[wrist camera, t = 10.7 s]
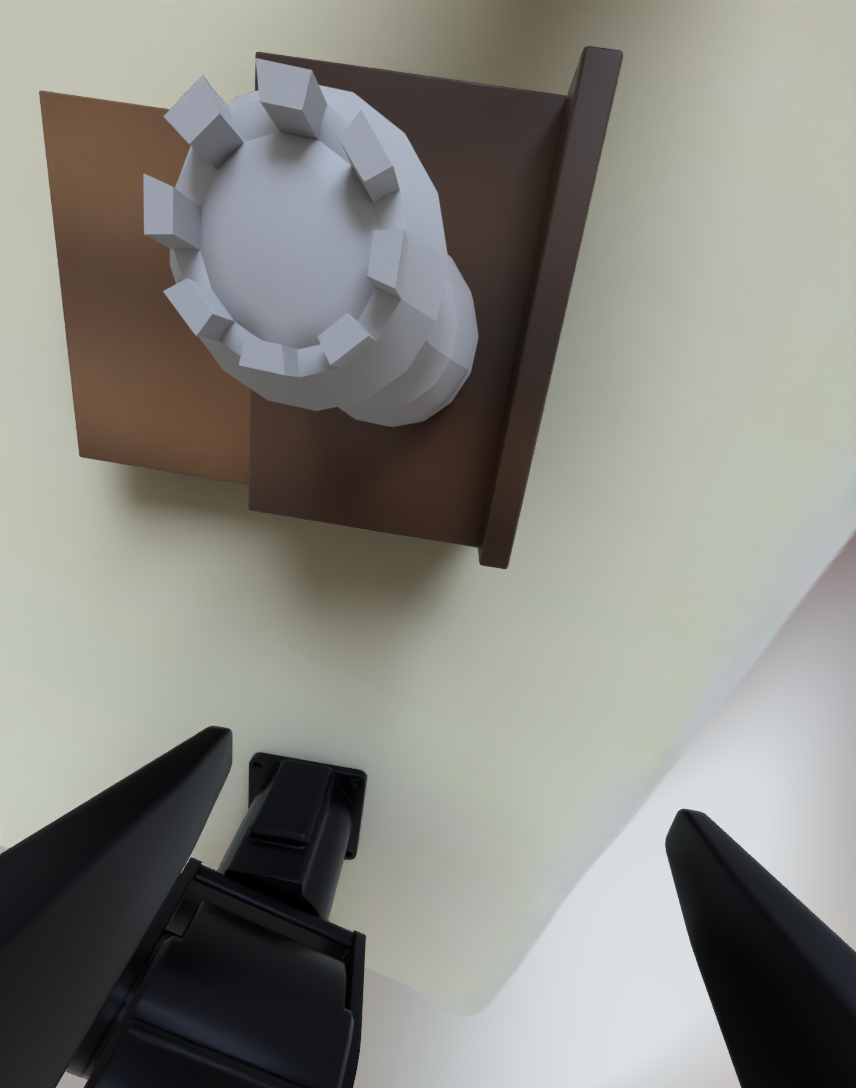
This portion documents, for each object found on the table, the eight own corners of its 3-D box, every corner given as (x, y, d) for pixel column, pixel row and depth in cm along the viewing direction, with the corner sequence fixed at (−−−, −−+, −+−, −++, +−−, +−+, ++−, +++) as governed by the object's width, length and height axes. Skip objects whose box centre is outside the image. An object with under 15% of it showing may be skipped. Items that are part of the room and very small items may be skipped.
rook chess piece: (506, 287, 11) (605, 49, 4) (437, 451, 13) (403, 530, 5) (343, 211, 11) (73, -222, 3) (291, 387, 12) (20, 369, 5)
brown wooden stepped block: (490, 506, 19) (507, 570, 12) (134, 448, 19) (-55, 477, 12) (550, 209, 15) (625, 48, 8) (113, 144, 16) (-170, -63, 9)
